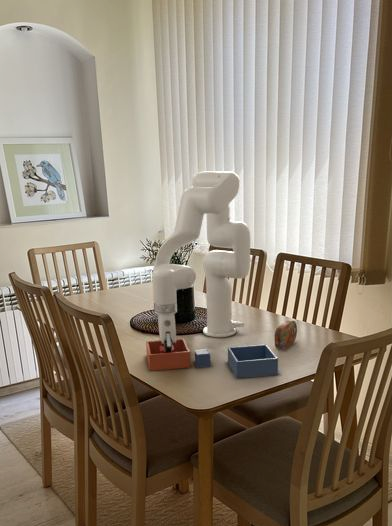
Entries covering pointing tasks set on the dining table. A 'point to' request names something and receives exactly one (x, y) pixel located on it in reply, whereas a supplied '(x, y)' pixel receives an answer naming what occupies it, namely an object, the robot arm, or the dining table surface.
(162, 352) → the red block
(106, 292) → the dining table surface
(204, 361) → the blue block
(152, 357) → the terracotta bin
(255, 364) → the blue bin
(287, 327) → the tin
